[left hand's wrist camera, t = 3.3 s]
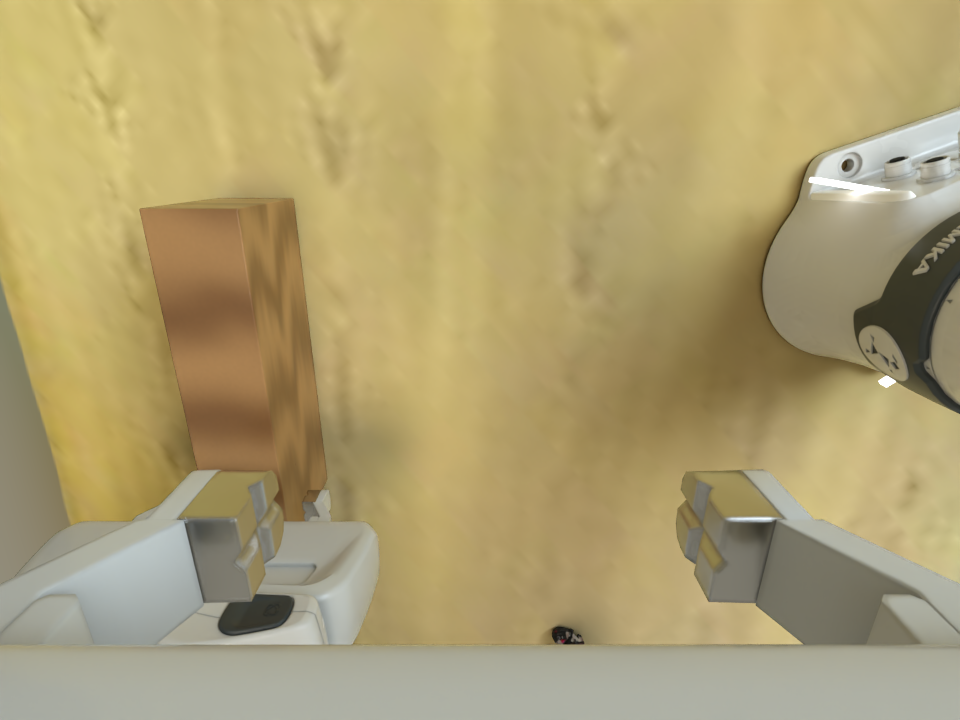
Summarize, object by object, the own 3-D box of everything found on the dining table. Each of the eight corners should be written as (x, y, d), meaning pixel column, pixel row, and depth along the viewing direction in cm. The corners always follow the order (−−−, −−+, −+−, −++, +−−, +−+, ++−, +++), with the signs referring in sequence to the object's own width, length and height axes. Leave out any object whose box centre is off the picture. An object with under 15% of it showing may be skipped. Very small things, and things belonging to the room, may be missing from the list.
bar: (217, 198, 38) (138, 208, 29) (293, 198, 38) (237, 208, 29) (265, 479, 47) (215, 553, 38) (327, 479, 47) (292, 553, 38)
